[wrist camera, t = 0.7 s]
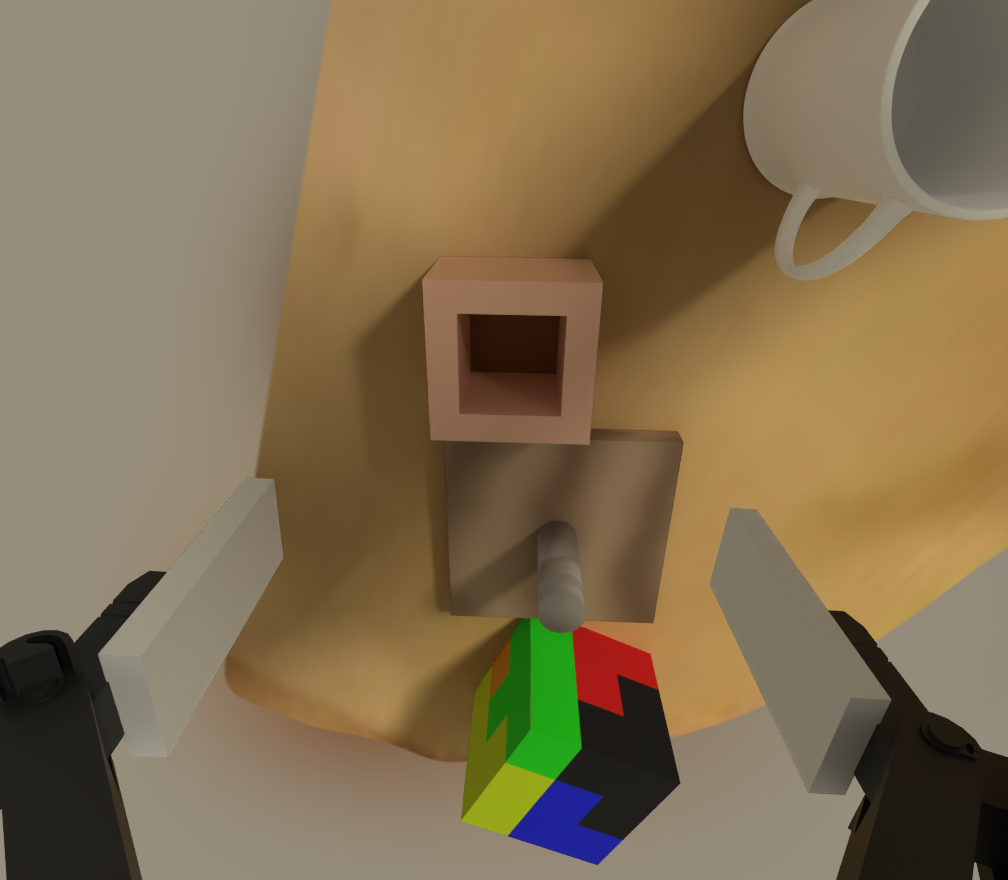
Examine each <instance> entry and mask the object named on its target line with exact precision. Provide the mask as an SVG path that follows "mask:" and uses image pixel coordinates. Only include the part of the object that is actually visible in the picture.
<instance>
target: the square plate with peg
mask: <svg viewBox="0 0 1008 880" xmlns="http://www.w3.org/2000/svg"><path fill="white" fill-rule="evenodd" d="M444 448H445V473H446V498H447V522H448V547H449V572H450V596H451V615H456V616H482V617H507V618H533V619H539V621H540V623H541V624H542V626H544V627H545V628H546V629H548V630H550V631H552V632H556V633H568V632H571V631H574V630H576V629H578V628H579V627H580V626H581V625H582V624H583V622H584V621H610V622H635V623H653V622H654V616H655V610H656V604H657V598H658V592H659V586H660V580H661V574H662V568H663V562H664V557H665V551H666V545H667V539H668V533H669V527H670V521H671V515H672V509H673V503H674V497H675V491H676V485H677V479H678V473H679V467H680V461H681V455H682V449H683V441H682V439H681V437H680V435H679V433H678V431H643V430H607V429H591V432H590V443H589V445H580V444H545V443H510V442H476V441H444Z"/></svg>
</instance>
